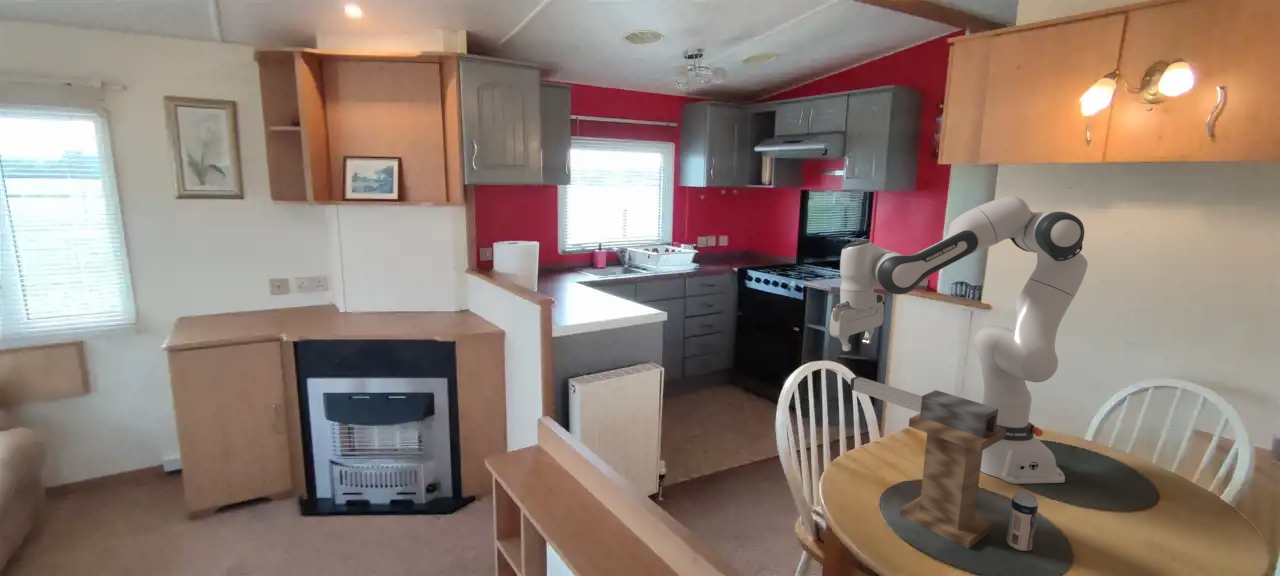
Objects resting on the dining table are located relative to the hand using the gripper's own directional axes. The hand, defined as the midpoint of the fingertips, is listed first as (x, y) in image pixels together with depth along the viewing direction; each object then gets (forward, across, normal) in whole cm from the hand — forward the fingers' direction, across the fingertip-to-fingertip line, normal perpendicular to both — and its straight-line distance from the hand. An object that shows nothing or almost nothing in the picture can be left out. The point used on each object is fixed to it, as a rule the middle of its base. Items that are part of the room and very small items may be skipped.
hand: (856, 346), depth 170 cm
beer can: (+35, -8, -47) cm, 59 cm away
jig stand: (+34, -13, -33) cm, 49 cm away
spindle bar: (+8, -12, -19) cm, 23 cm away
